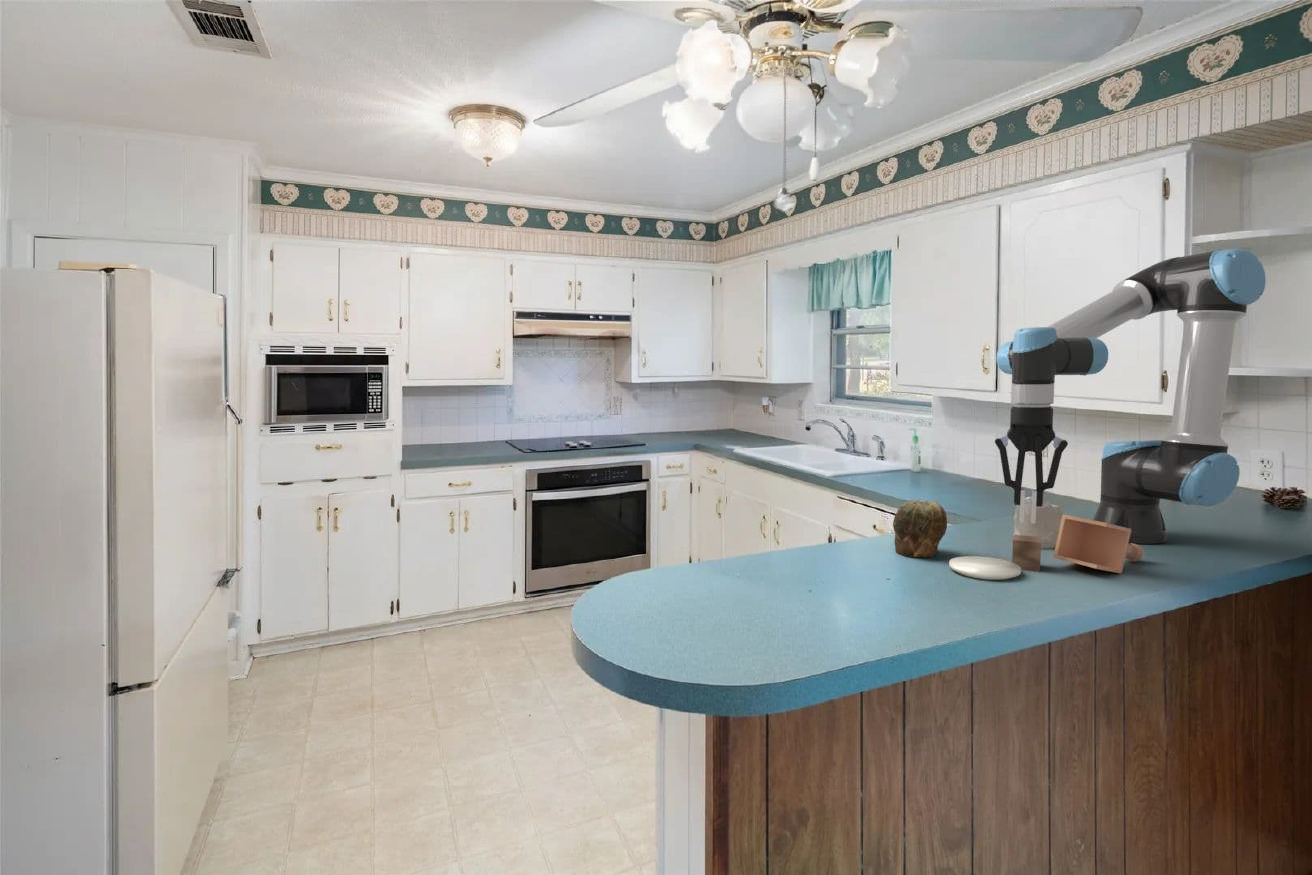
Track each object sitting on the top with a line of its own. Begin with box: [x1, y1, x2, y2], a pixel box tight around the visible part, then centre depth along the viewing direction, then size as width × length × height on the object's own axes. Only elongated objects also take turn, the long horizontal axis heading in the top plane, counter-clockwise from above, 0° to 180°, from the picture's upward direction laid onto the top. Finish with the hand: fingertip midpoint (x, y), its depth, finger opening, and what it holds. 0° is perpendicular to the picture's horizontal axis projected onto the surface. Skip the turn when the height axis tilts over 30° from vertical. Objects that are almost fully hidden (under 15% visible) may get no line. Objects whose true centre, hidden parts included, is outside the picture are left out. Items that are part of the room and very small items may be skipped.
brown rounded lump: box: [892, 499, 948, 558], centre depth 153 cm, size 11×11×12 cm
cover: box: [1053, 514, 1145, 574], centre depth 142 cm, size 9×9×19 cm
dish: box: [948, 555, 1022, 581], centre depth 139 cm, size 13×13×1 cm
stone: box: [1013, 496, 1064, 550], centre depth 158 cm, size 10×5×12 cm, turn 81°
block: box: [1011, 534, 1042, 572], centre depth 142 cm, size 5×5×6 cm
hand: (1027, 521), depth 142 cm, fingers closed
